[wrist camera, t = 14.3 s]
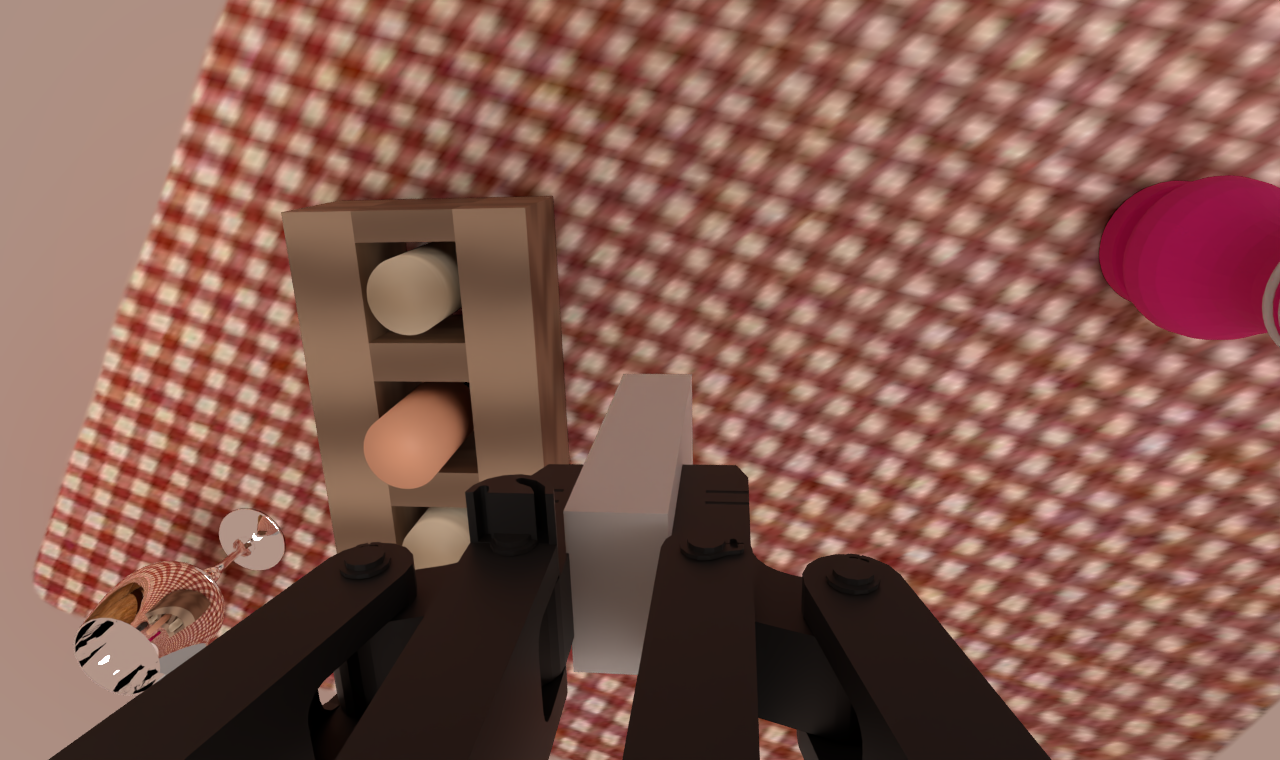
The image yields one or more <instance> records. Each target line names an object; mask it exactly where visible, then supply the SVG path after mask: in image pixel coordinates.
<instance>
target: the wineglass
mask: <svg viewBox="0 0 1280 760" xmlns="http://www.w3.org/2000/svg"><path fill="white" fill-rule="evenodd" d="M219 540H220V543H221V546H222V548H223V550H224V551H225V553H226V554H227V555H228V556H227V557H226V558H225V559H224V560H222V561H221V562H220V563H218V564H216V565H214V566H212V567H210V568H207V569H205V570H202V569H200V568H198V567H196V566H194V565H191V564H188V563H184V562H177V561H164V562H159V563H154V564H151V565H148V566H145V567H143V568H141V569H139V570H137V571H135V572H134V573H132V574H130V575H129V576H127V577H126V578H125V579H123V580H122V581H121V582H120V583H118V584H117V585H116V586H115V587H114V588H113V589H112V590H111V591H110V592H109V593H108V594H107V595H106V596H105V597H104V598H103V599H102V600H101V601H100V602H99V604H98V605H97V606H96V607H95V608H94V609H93V611H92V612H91V613H90V614H89V616H88V617H87V618H86V620H85V621H84V622H83V624H82V625H81V626H80V628H79V629H78V631H77V633H76V635H75V638H74V644H73V647H74V654H75V657H76V660H77V662H78V664H79V666H80V667H81V669H82V670H83V672H84V673H85V674H86V675H87V676H88V677H89V678H90V679H91V680H92V681H93V682H94V683H96V684H97V685H99V686H101V687H102V688H104V689H106V690H108V691H110V692H112V693H117V694H120V695H137V694H141V693H142V692H143V691H145V690H146V689H148V688H149V687H150V686H152V685H153V684H155V683H156V682H157V681H159V680H160V679H162V678H163V677H164V676H166V675H167V674H169V673H170V672H171V671H173V670H174V669H175V668H177V667H178V666H180V665H181V664H182V663H184V662H185V661H187V660H188V659H189V658H191V657H192V656H194V655H195V654H196V653H198V652H199V651H201V650H202V649H203V648H205V647H206V646H208V645H209V644H210V643H212V641H213V640H214V639H215V637H216V635H217V634H218V632H219V630H220V628H221V626H222V623H223V618H224V611H225V610H224V600H223V596H222V593H221V591H220V588H219V587H218V585H217V584H216V581H217V580H218V579H219V577H220V575H221V573H222V572H223V571H224V569H225V568H226V567H227V566H228V565H229V564H230V563H231V562H233V561H234V562H235V563H237V564H238V565H240V566H242V567H244V568H247V569H250V570H257V571H259V570H266V569H270V568H272V567H274V566H275V565H277V564H278V563H279V562H280V560H281V559H282V557H283V555H284V552H285V540H284V537H283V534H282V532H281V530H280V528H279V527H278V525H277V524H276V523H275V522H274V521H273V520H272V519H271V518H270V517H268V516H267V515H265V514H264V513H262V512H259V511H257V510H253V509H238V510H234V511H232V512H230V513H229V514H227V515H226V516H225V517H224V519H223V520H222V522H221V524H220V527H219Z"/></svg>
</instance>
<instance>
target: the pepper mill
mask: <svg viewBox="0 0 1280 760" xmlns="http://www.w3.org/2000/svg"><path fill="white" fill-rule="evenodd" d="M1099 260H1100V265H1101V269H1102V273H1103V275H1104V277H1105V279H1106V281H1107V283H1108V284H1109V285H1110V287H1111V288H1112V289H1113V290H1114V291H1115V292H1116V293H1117V294H1119V295H1120V296H1121V297H1123V298H1124V299H1126V300H1128V301H1131V302H1133V304H1134V305H1135V307H1136V308H1137V310H1139V311H1140V312H1141V313H1142V314H1143V315H1144V316H1145V317H1146V318H1147V319H1148V320H1149V321H1151V322H1152V323H1154V324H1155V325H1157V326H1159V327H1161V328H1163V329H1165V330H1168V331H1170V332H1174V333H1177V334H1180V335H1184V336H1187V337H1191V338H1196V339H1205V340H1231V339H1239V338H1244V337H1248V336H1252V335H1256V334H1262V333H1269V336H1270V337H1271V338H1272V339H1273V341H1274V342H1275V343H1276V344H1277V345H1278V346H1279V347H1280V188H1278V187H1276V186H1274V185H1272V184H1269V183H1266V182H1262V181H1258V180H1255V179H1251V178H1247V177H1242V176H1230V175H1228V176H1214V177H1207V178H1203V179H1199V180H1196V181H1192V182H1190V181H1169V182H1163V183H1159V184H1156V185H1153V186H1150V187H1147V188H1145V189H1143V190H1141V191H1139V192H1137V193H1136V194H1134V195H1133V196H1131V197H1130V198H1129V199H1127V200H1126V201H1125V202H1124V203H1123V204H1122V205H1121V206H1120V207H1119V208H1118V209H1117V210H1116V211H1115V213H1114V214H1113V216H1112V217H1111V219H1110V220H1109V222H1108V223H1107V225H1106V227H1105V229H1104V232H1103V235H1102V238H1101V243H1100V249H1099Z"/></svg>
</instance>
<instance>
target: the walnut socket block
mask: <svg viewBox="0 0 1280 760" xmlns="http://www.w3.org/2000/svg"><path fill="white" fill-rule="evenodd" d="M281 215H282V221H283V227H284V233H285V239H286V245H287V251H288V258H289V264H290V270H291V276H292V282H293V288H294V294H295V300H296V306H297V312H298V319H299V325H300V331H301V337H302V343H303V349H304V355H305V361H306V367H307V374H308V380H309V386H310V392H311V398H312V404H313V410H314V416H315V422H316V428H317V435H318V441H319V447H320V453H321V459H322V465H323V471H324V477H325V483H326V490H327V496H328V502H329V508H330V514H331V520H332V526H333V532H334V538H335V544H336V551H337V554H338V553H340V552H341V551H343V550H347V549H350V548H353V547H356V546H357V545H359V544H364V543H368V544H370V543H371V542H381V543H395V544H398V545H400V546H402V545H403V542H404V539H405V537H406V536H407V534H408V533H409V532H410V531H411V529H412V528H413V527H414V526H415V524H416V523H417V522H418V521H419V519H420V518H421V517H422V516H423V514H424V513H425V512H426V510H427V509H428V508H429V507H452V508H467V507H466V497H465V492H466V491H467V490H468V489H469V488H470V487H472V486H473V485H474V484H476V483H479V482H481V481H483V480H486V479H489V478H493V477H498V476H502V475H514V474H524V475H533V474H534V473H536V472H537V471H539V470H540V469H542V468H543V467H545V466H546V465H548V464H569V448H568V432H567V416H566V399H565V383H564V367H563V351H562V335H561V318H560V302H559V286H558V270H557V254H556V237H555V221H554V205H553V196H536V197H489V198H442V199H395V200H347V201H335V202H330V203H325V204H320V205H315V206H311V207H306V208H301V209H296V210H291V211H286V212H281ZM441 241H455V243H456V253H457V264H458V274H459V284H460V294H461V304H462V314H463V315H449V316H448V317H446V318H445V319H443V320H442V321H441V322H439V323H438V324H436V325H435V326H433V327H432V328H430V329H429V330H427V331H425V332H423V333H420V334H417V335H402V334H398V333H395V332H393V331H391V330H389V329H387V328H386V327H385V326H383V325H382V324H381V323H380V322H379V321H378V320H377V319H376V317H375V316H374V314H373V313H372V311H371V309H370V307H369V304H368V300H367V284H368V280H369V277H370V275H371V273H372V272H373V270H374V269H375V268H376V267H377V266H378V265H379V264H380V263H382V262H384V261H385V260H388V259H390V258H393V257H395V256H398V255H400V254H403V253H405V252H406V243H405V242H441ZM422 382H469V384H470V394H471V404H472V414H473V424H474V431H472V433H471V434H470V435H469V436H468V437H467V439H466V440H465V441H464V442H463V443H462V444H461V446H460V447H459V448H458V449H457V450H456V452H455V453H454V454H453V455H452V456H451V457H450V459H449V460H448V461H447V462H446V463H445V465H444V466H443V467H442V468H441V469H440V470H439V472H438V473H437V474H436V475H435V476H434V478H433V479H432V480H431V481H430V482H428V483H427V484H425V485H423V486H421V487H418V488H413V489H401V488H397V487H394V486H391V485H389V484H387V483H385V482H384V481H382V480H381V479H379V478H378V477H377V476H376V475H375V474H374V473H373V471H372V470H371V469H370V467H369V465H368V463H367V461H366V458H365V455H364V439H365V436H366V433H367V431H368V429H369V428H370V427H371V426H372V425H373V424H374V423H375V422H376V421H377V420H378V419H379V418H381V417H382V416H383V415H384V414H385V413H387V412H388V411H389V410H390V409H391V408H393V407H394V406H395V405H396V404H397V403H399V402H400V401H401V400H402V399H403V398H405V397H406V396H407V395H408V394H409V393H411V392H412V391H413V390H414V389H415V388H417V387H418V386H419V385H420V384H421V383H422Z"/></svg>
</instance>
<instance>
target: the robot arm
mask: <svg viewBox="0 0 1280 760" xmlns="http://www.w3.org/2000/svg"><path fill="white" fill-rule="evenodd" d="M465 497H466V507H467V516H468V526H469V535H470V544H469V545H468V547H467V548H466V550H465V552H464V553H463V555H462V556H461V558H460V560H459V561H458V562H457V563H453V564H448V565H443V566H436V567H429V568H423V569H416V570H415V566H414V558H413V554H412V553H411V552H410V551H409V550H408V549H407V548H406V547H403V546H400V545H398V544H395V543H381V542H371V543H370V544H368V543H364V544H359V545H357V546H356V547H353V548H350V549H347V550H343V551H341V552H340V553H338V554H336V555H334V556H332V557H330V558H329V559H327V560H326V561H324V562H323V563H322V564H320V565H319V566H318V567H316V568H315V569H313V570H312V571H311V572H309V573H308V574H306V575H305V576H304V577H302V578H301V579H299V580H298V581H297V582H295V583H294V584H292V585H291V586H290V587H288V588H287V589H285V590H284V591H283V592H281V593H280V594H279V595H277V596H276V597H274V598H273V599H272V600H270V601H269V602H267V603H266V604H265V605H263V606H262V607H260V608H259V609H258V610H256V611H255V612H253V613H252V614H251V615H249V616H248V617H246V618H245V619H244V620H242V621H241V622H240V623H238V624H237V625H235V626H234V627H233V628H231V629H230V630H228V631H227V632H226V633H224V634H223V635H221V636H220V637H219V638H217V639H216V640H214V641H213V642H212V643H210V644H209V645H208V646H206V647H205V648H203V649H202V650H201V651H199V652H198V653H196V654H195V655H194V656H192V657H191V658H189V659H188V660H187V661H185V662H184V663H182V664H181V665H180V666H178V667H177V668H175V669H174V670H173V671H171V672H170V673H169V674H167V675H166V676H164V677H163V678H162V679H160V680H159V681H157V682H156V683H155V684H153V685H152V686H150V687H149V688H148V689H146V690H145V691H143V692H142V693H141V694H139V695H138V696H136V697H135V698H134V699H132V700H131V701H130V702H128V703H127V704H125V705H124V706H123V707H121V708H120V709H118V710H117V711H116V712H114V713H113V714H111V715H110V716H109V717H107V718H106V719H105V720H103V721H102V722H100V723H99V724H98V725H96V726H95V727H93V728H92V729H91V730H89V731H88V732H86V733H85V734H84V735H82V736H81V737H79V738H78V739H77V740H75V741H74V742H73V743H71V744H70V745H68V746H67V747H66V748H64V749H63V750H61V751H60V752H59V753H57V754H56V755H54V756H53V757H52V758H50V759H49V760H548V759H549V755H550V752H551V749H552V745H553V742H554V738H555V735H556V731H557V728H558V724H559V721H560V717H561V714H562V710H563V707H564V704H565V700H566V697H567V672H566V662H567V658H568V655H569V652H570V649H571V645H572V651H573V667H574V672H590V673H611V674H631V675H638V676H637V682H636V687H635V693H634V699H633V704H632V710H631V715H630V721H629V726H628V732H627V737H626V743H625V749H624V754H623V760H760V753H759V724H758V718H761V719H765V720H768V721H771V722H774V723H778V724H781V725H784V726H787V727H791V728H794V729H797V739H798V745H799V748H800V751H801V753H802V755H803V758H804V760H1051V759H1050V757H1049V756H1048V755H1047V754H1046V753H1045V751H1044V750H1043V749H1042V748H1041V746H1040V745H1039V744H1038V743H1037V742H1036V740H1035V739H1034V738H1033V737H1032V735H1031V734H1030V733H1029V732H1028V730H1027V729H1026V728H1025V727H1024V726H1023V724H1022V723H1021V722H1020V721H1019V719H1018V718H1017V717H1016V716H1015V715H1014V713H1013V712H1012V711H1011V710H1010V708H1009V707H1008V706H1007V705H1006V704H1005V702H1004V701H1003V700H1002V699H1001V697H1000V696H999V695H998V694H997V692H996V691H995V690H994V689H993V688H992V686H991V685H990V684H989V683H988V681H987V680H986V679H985V678H984V677H983V675H982V674H981V673H980V672H979V670H978V669H977V668H976V667H975V666H974V664H973V663H972V662H971V661H970V659H969V658H968V657H967V656H966V655H965V653H964V652H963V651H962V650H961V648H960V647H959V646H958V645H957V643H956V642H955V641H954V640H953V639H952V637H951V636H950V635H949V634H948V632H947V631H946V630H945V629H944V628H943V626H942V625H941V624H940V623H939V621H938V620H937V619H936V618H935V617H934V615H933V614H932V613H931V612H930V610H929V609H928V608H927V607H926V606H925V604H924V603H923V602H922V601H921V599H920V598H919V597H918V596H917V594H916V593H915V592H914V591H913V590H912V588H911V587H910V586H909V585H908V583H907V582H906V581H905V580H904V579H903V577H902V576H901V575H900V574H899V573H898V572H896V571H895V570H894V569H893V568H892V567H890V566H889V565H887V564H885V563H882V562H880V561H878V560H875V559H873V558H870V557H867V556H863V555H862V556H859V555H857V554H846V555H845V554H835V555H830V556H826V557H821V558H818V559H816V560H815V561H813V562H811V563H809V564H808V565H807V567H806V568H805V570H804V572H803V574H802V577H799V576H794V575H790V574H787V573H783V572H780V571H777V570H775V569H773V568H771V567H768V566H766V565H765V564H764V563H762V562H761V561H760V560H758V559H757V558H756V556H755V555H754V554H753V551H752V548H751V542H750V515H749V487H748V477H747V476H746V475H745V474H744V473H743V472H742V471H741V470H740V469H739V468H738V467H737V466H736V465H693V448H692V374H623V377H622V379H621V381H620V384H619V386H618V388H617V390H616V393H615V395H614V397H613V399H612V402H611V404H610V406H609V409H608V411H607V413H606V415H605V418H604V420H603V422H602V425H601V427H600V429H599V431H598V434H597V436H596V438H595V440H594V443H593V445H592V447H591V450H590V452H589V454H588V456H587V459H586V461H585V463H584V465H574V464H548V465H546V466H545V467H543V468H542V469H540V470H539V471H537V472H536V473H534V474H533V475H524V474H514V475H502V476H498V477H493V478H489V479H486V480H483V481H481V482H479V483H476V484H474V485H473V486H472V487H470V488H469V489H468V490H467V491H466V492H465ZM333 672H334V678H335V684H336V690H337V694H336V695H335V696H334V697H333V698H332V699H331V700H330V701H329V702H327V703H325V704H324V705H322V704H321V702H320V699H319V693H318V688H319V687H320V685H321V684H322V683H323V681H324V680H325V679H326V678H328V677H329V676H330V675H331V674H332V673H333Z"/></svg>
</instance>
